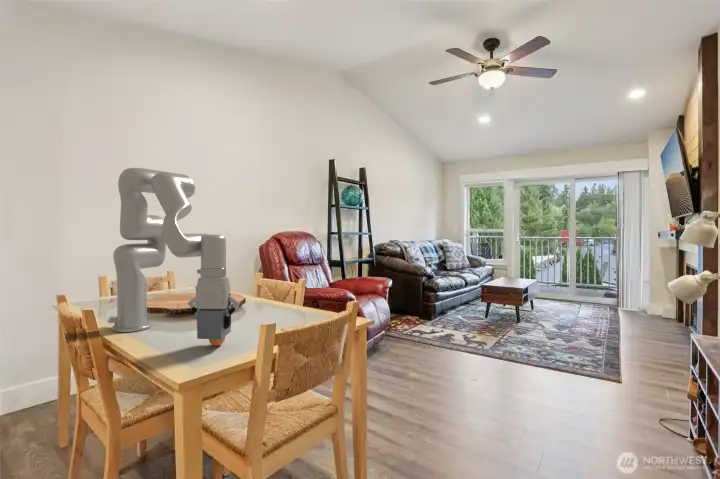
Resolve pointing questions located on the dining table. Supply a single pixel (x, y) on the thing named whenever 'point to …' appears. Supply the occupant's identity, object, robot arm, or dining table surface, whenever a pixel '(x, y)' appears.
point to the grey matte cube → (211, 324)
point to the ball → (216, 341)
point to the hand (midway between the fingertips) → (214, 327)
